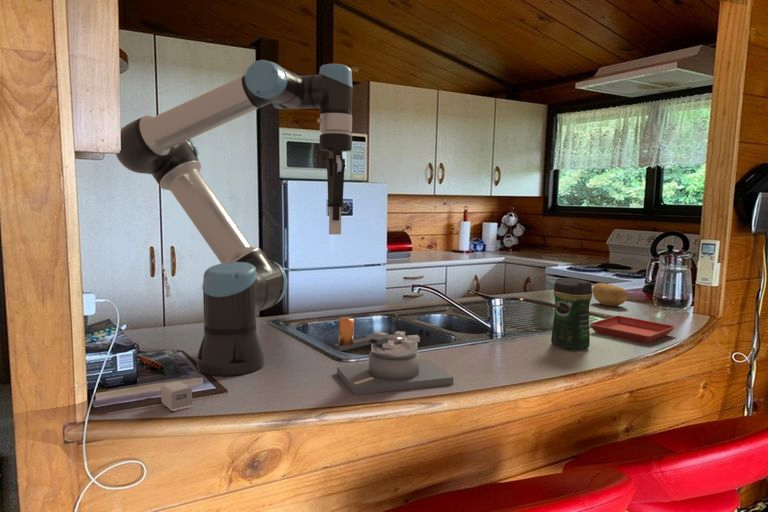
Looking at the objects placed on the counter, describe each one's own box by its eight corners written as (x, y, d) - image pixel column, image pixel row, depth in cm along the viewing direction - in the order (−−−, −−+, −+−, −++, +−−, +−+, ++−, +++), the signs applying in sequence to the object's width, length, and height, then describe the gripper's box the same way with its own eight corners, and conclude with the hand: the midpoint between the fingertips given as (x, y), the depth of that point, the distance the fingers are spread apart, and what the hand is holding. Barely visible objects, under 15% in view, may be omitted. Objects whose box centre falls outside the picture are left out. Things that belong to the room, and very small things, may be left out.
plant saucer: (648, 347, 153) (649, 335, 153) (587, 334, 167) (588, 323, 166) (675, 337, 165) (676, 326, 165) (616, 325, 179) (617, 315, 178)
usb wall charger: (171, 413, 102) (170, 391, 101) (156, 402, 107) (155, 382, 106) (192, 407, 105) (191, 386, 104) (176, 397, 110) (176, 377, 109)
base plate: (354, 394, 112) (354, 368, 112) (336, 373, 125) (337, 349, 125) (453, 384, 120) (454, 359, 119) (426, 364, 133) (427, 342, 132)
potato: (615, 310, 200) (616, 288, 199) (585, 303, 213) (586, 282, 212) (634, 308, 204) (635, 286, 203) (603, 301, 217) (605, 280, 216)
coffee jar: (594, 349, 149) (598, 280, 147) (574, 353, 145) (578, 282, 143) (565, 340, 157) (569, 275, 155) (545, 344, 153) (549, 277, 151)
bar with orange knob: (394, 343, 129) (395, 303, 128) (428, 354, 122) (429, 311, 120) (320, 361, 115) (320, 315, 114) (353, 374, 107) (354, 325, 106)
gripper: (316, 135, 136) (316, 232, 139) (323, 130, 124) (322, 236, 127) (346, 136, 138) (345, 232, 141) (356, 131, 126) (355, 236, 128)
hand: (334, 234), depth 134 cm, fingers closed
